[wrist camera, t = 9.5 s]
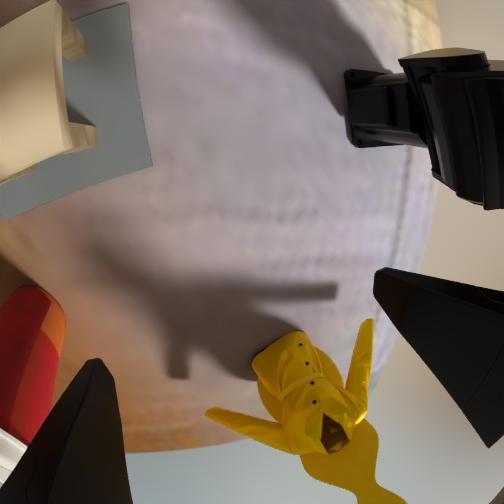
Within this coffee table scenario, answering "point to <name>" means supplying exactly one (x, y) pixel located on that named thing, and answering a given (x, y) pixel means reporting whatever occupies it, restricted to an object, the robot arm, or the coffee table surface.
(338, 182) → the coffee table surface
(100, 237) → the coffee table surface
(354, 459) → the figure statuette
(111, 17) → the felt pad
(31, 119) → the stool
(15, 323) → the paper cup
